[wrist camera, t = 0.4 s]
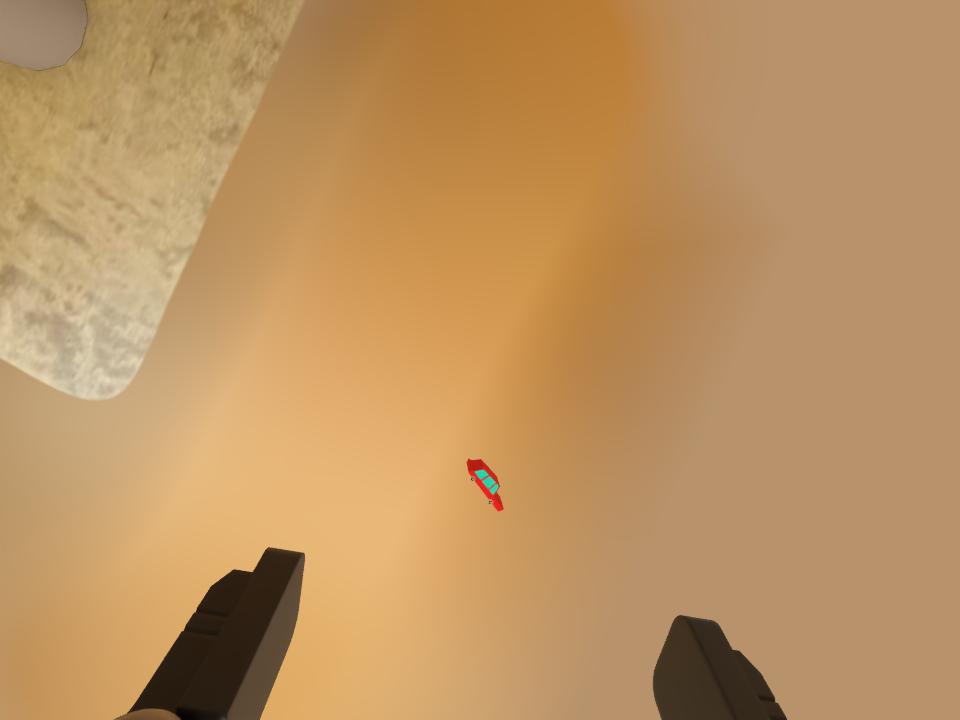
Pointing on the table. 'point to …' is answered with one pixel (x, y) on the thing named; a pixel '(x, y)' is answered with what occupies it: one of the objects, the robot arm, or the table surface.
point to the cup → (41, 31)
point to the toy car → (485, 481)
